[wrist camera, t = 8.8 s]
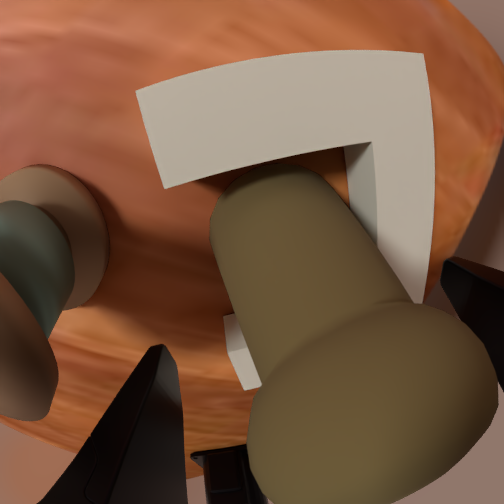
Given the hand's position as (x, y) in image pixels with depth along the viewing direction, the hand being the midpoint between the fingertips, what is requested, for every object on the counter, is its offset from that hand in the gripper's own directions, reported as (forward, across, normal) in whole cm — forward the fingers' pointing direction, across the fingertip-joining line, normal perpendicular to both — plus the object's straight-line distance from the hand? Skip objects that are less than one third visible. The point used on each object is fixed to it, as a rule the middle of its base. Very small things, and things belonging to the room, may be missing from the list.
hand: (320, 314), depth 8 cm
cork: (+6, 0, 0) cm, 6 cm away
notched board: (+6, -2, 0) cm, 6 cm away
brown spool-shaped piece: (+6, +10, -3) cm, 12 cm away
